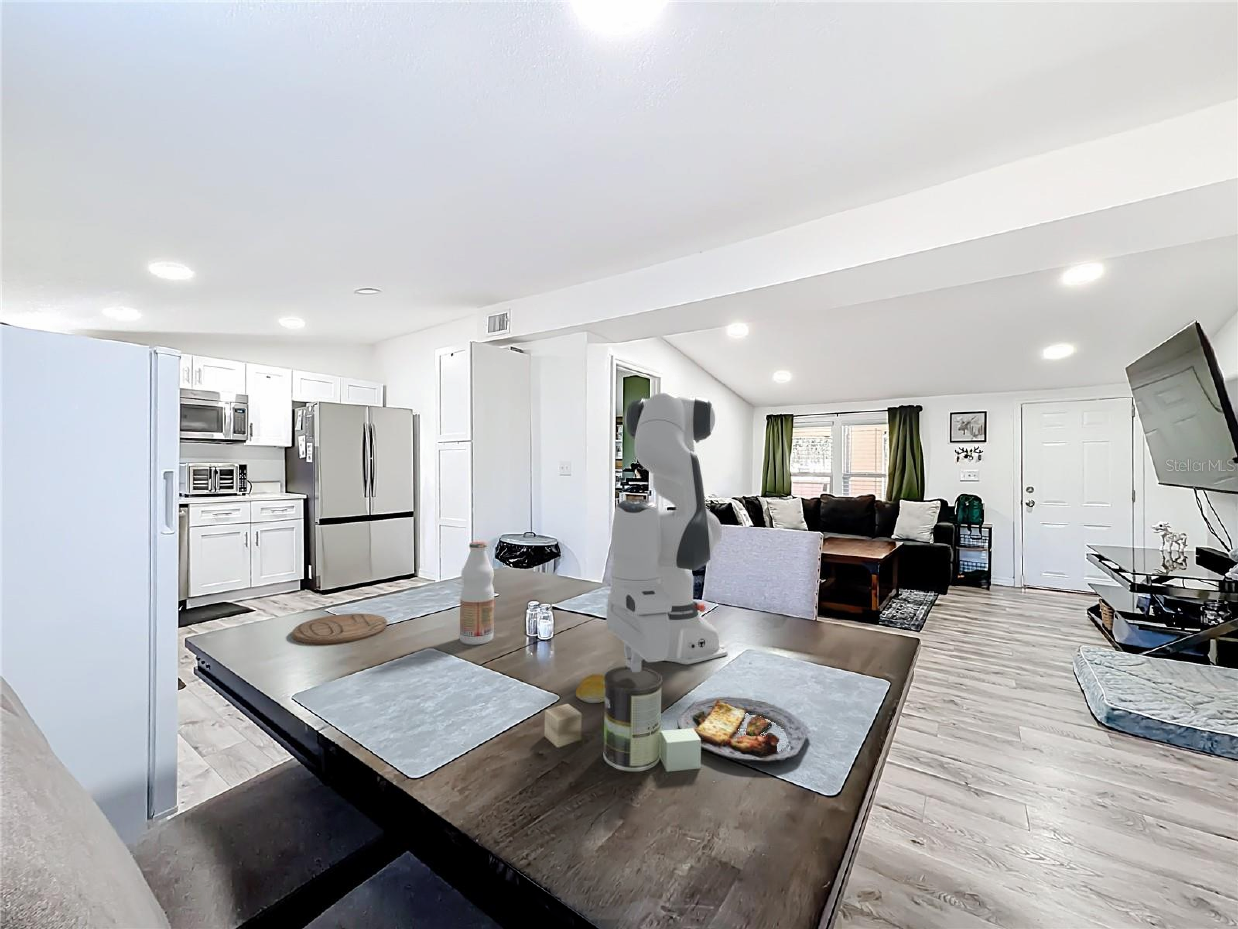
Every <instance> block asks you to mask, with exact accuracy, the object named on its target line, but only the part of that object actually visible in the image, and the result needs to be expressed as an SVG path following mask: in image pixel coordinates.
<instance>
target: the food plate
mask: <svg viewBox="0 0 1238 929" xmlns="http://www.w3.org/2000/svg"><path fill="white" fill-rule="evenodd" d="M746 713H748V714H749V715H756V716H755V717H752V716H751V717H750V718H749V720H748V722H746V727H747V728H746V727H744V724H743V723H742V722H744V721H745V720H746V715H745V714H746ZM760 716H761V717H760ZM744 719H745V720H744ZM765 719H768V720H770V721H771V722H774V723H776V725H777V726H780V727H781V729H784V730H783V731H784V732H785V733H786V736H787V739H789V740H788V742H787V741H786V744H785V745H786V747H784V748H783V747H782V749H781V751H779V752H778V751H777V744H779V743H780V739H781V738H779V736H777V735H776V734H775V733H772V732H768V733H767V734H765V735H764V734H762V736H761V735H760V734H761V733H763V732H764V731H765V730H766V729H767V730H768V729H769V728H770V727H769V726H771V727H772V726H773V724H772V723H771V722H768V721H766V720H765ZM676 723H677V728H678V729H690V728H693V729H694V730H695V732H696V733H697V734H698V736H699V737H700V739H701V749H703V750H706V751H708V752H711V753H714V754H716V755H719V756H721V757H723V758H725V759H730V760H736V761H741V762H742V761H744V762H750V761H752V762H760V763H774V762H776V764H778V763H779V762H783V761H785V760H786V758H788V759H793V758H794V757H796V755H797V754H799V753H800V751H801V748H802V747H803V746H804V745H805V744H804V743H805V741H806V740H807V738H808V735H809V734H810V733H811V732H810V729H809V727H808V725H807V724H805V723H804V722H803V721H802V720H800V719H799V718H798V717H796V716H795V715H794V714H792V713H791V712H789V711H788V710H786V709H784V708H782V707H779V706H777V705H775V704H771V703H769V702H766V701H762V700H754V699H752V698H748V697H732V696H718V697H715V696H714V697H709V698H705V699H703V700H699V701H694V702H692V703H691V704H690V705H689V706H688V707H687V708H686V709H685V710H683V712H682V713H681V715H679V716H678V717H677V721H676ZM744 723H745V722H744ZM741 726H742V727H741ZM777 726H776V727H777ZM768 727H769V728H768ZM738 729H739V730H738ZM740 729H746V731H745V732H746V735H742V734H741V733H740V732H744V730H743V731H740ZM767 730H766V731H767ZM766 731H765V732H766ZM783 731H782V732H783ZM738 732H739V733H740V734H739V733H738ZM740 736H741V737H740ZM763 736H764V737H763ZM786 736H785V737H786ZM736 739H737V740H736ZM778 742H779V743H778ZM787 743H788V744H787ZM782 746H784V745H782ZM789 746H790V749H789V750H790V751H788V750H787V749H788V747H789Z"/></svg>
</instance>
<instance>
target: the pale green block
mask: <svg viewBox="0 0 1238 929" xmlns="http://www.w3.org/2000/svg"><path fill="white" fill-rule="evenodd" d="M701 753H702V748H701V739H700V737H699V736H698V734H697V733H696V732H695V730H694V729H693V728H690V729H679V728H678V729H667V730H660V761H661V763H662V764H663V767H664V768H665V771H666V772H675V771H687V770H695V769H696V770H697V769H701V765H702V764H701V759H702V758H701V757H702V756H701V755H702V754H701Z"/></svg>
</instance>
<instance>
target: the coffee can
mask: <svg viewBox="0 0 1238 929" xmlns="http://www.w3.org/2000/svg"><path fill="white" fill-rule="evenodd" d="M604 676H605V677H604V680H605V701H604V712H603V713H604V715H603V716H604V717H603V718H604V719H603V720H604V722H603V725H604V726H603V727H604V728H603V752H602V755H603V759H604V761H605V762H606V763H607V764H608V765H609V766H611V767H613V768H614V769H616V770H618V771H622V772H630V773H631V772H634V773H636V772H643V771H647V770H650V769H652V768H654V767H655V766H656V765H657V764H658V763H659V762H660V761H661V759H660V750H661V723H662V722H661V718H662V717H661V716H662V685H663V676H662V674H660V673H659V672H657V671H656V670H654V669H651V668H648V667H646V666H645V667H644V666H641V671H640V672H635V673H634V672H632V671H631V670H630V669H629V668H628V667H627V666H626V665H625V666H619V667H615V668H612V669H610V670H608V671H607V672H606V673H605V674H604Z"/></svg>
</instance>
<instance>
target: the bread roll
mask: <svg viewBox="0 0 1238 929" xmlns="http://www.w3.org/2000/svg"><path fill="white" fill-rule="evenodd" d="M604 677H605V674H598V673H596V674H595V673H594V674H589V675H588V676H586V677H584V678H583V679H582V680H581V681H580V683H579V685H578V687H577V688H576V690H575V696H576V698H578V699H579V700H580V701H583V702H586V703H589V704H597V703H605V680H604Z"/></svg>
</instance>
